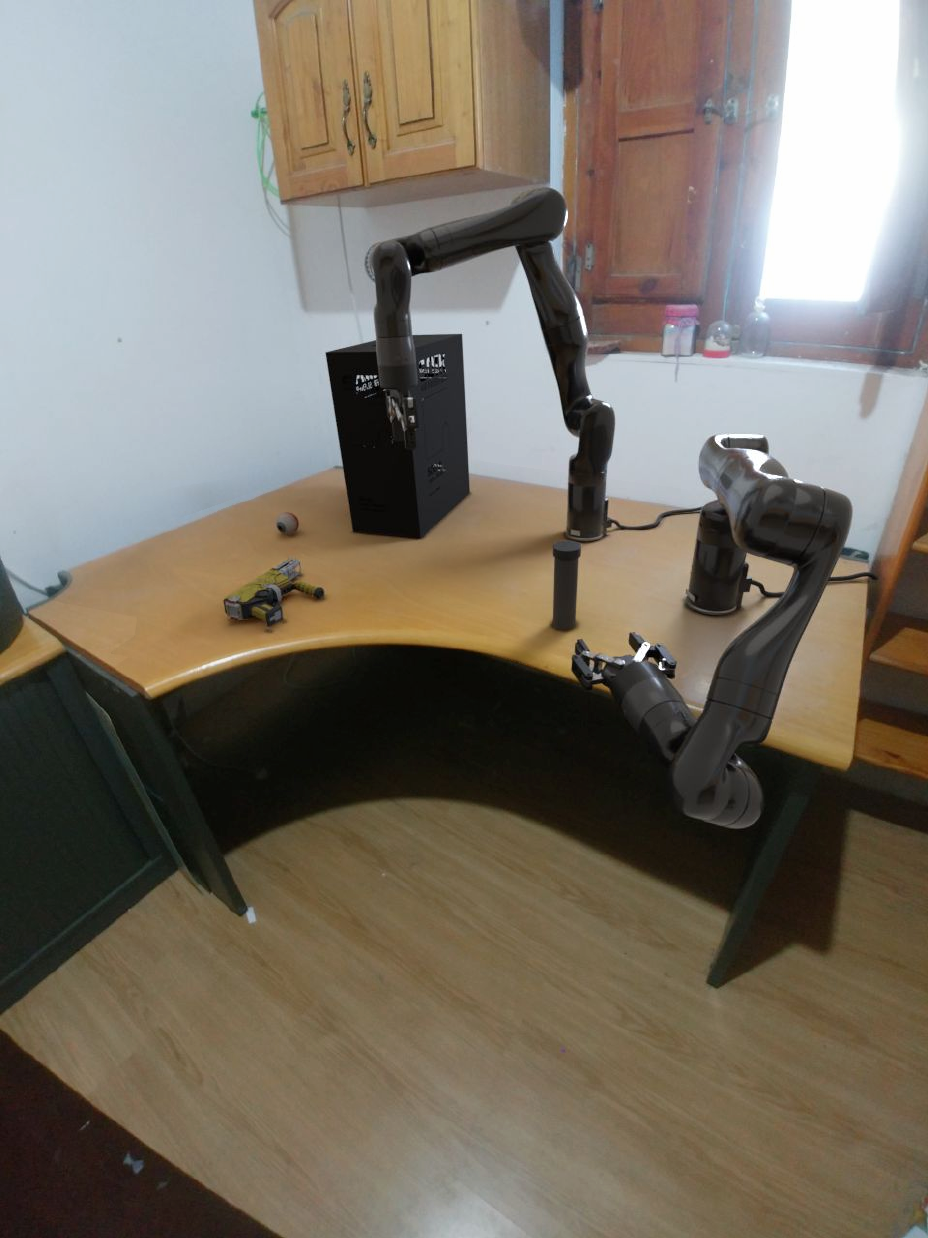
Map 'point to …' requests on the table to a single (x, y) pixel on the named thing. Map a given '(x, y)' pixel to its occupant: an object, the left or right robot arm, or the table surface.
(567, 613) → the grey cylindrical tube
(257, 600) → the toy gun
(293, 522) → the eyeball
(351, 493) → the cardboard box
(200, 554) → the table surface
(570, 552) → the lid
